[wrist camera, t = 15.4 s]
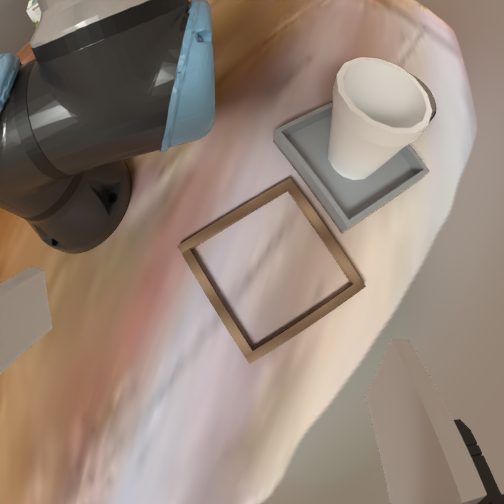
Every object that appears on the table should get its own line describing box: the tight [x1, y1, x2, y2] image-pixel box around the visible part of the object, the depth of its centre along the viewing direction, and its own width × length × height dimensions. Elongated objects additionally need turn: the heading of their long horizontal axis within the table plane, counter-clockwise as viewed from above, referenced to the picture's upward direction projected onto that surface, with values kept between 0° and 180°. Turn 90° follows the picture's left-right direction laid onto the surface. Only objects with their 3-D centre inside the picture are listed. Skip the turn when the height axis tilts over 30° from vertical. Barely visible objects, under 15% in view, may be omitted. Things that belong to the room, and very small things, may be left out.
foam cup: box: [328, 57, 432, 180], centre depth 29 cm, size 10×9×13 cm
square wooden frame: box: [178, 178, 366, 364], centre depth 34 cm, size 15×15×1 cm
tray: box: [273, 102, 429, 233], centre depth 35 cm, size 14×14×3 cm
